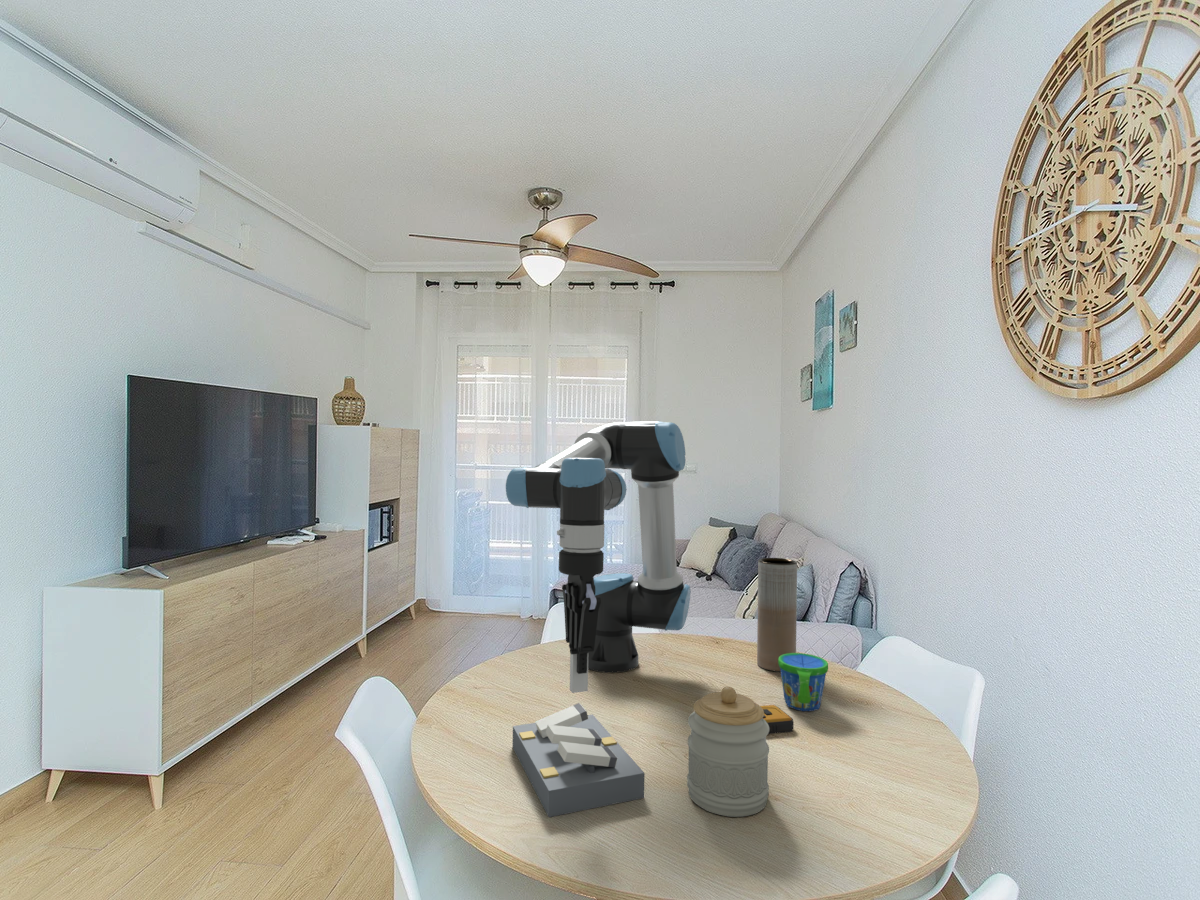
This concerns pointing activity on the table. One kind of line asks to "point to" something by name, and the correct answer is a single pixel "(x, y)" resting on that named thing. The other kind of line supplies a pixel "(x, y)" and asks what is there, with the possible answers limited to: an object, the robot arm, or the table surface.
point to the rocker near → (587, 754)
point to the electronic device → (777, 719)
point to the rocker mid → (573, 735)
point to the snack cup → (802, 680)
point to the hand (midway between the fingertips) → (578, 690)
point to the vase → (776, 611)
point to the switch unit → (576, 772)
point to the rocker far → (562, 718)
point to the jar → (728, 754)
